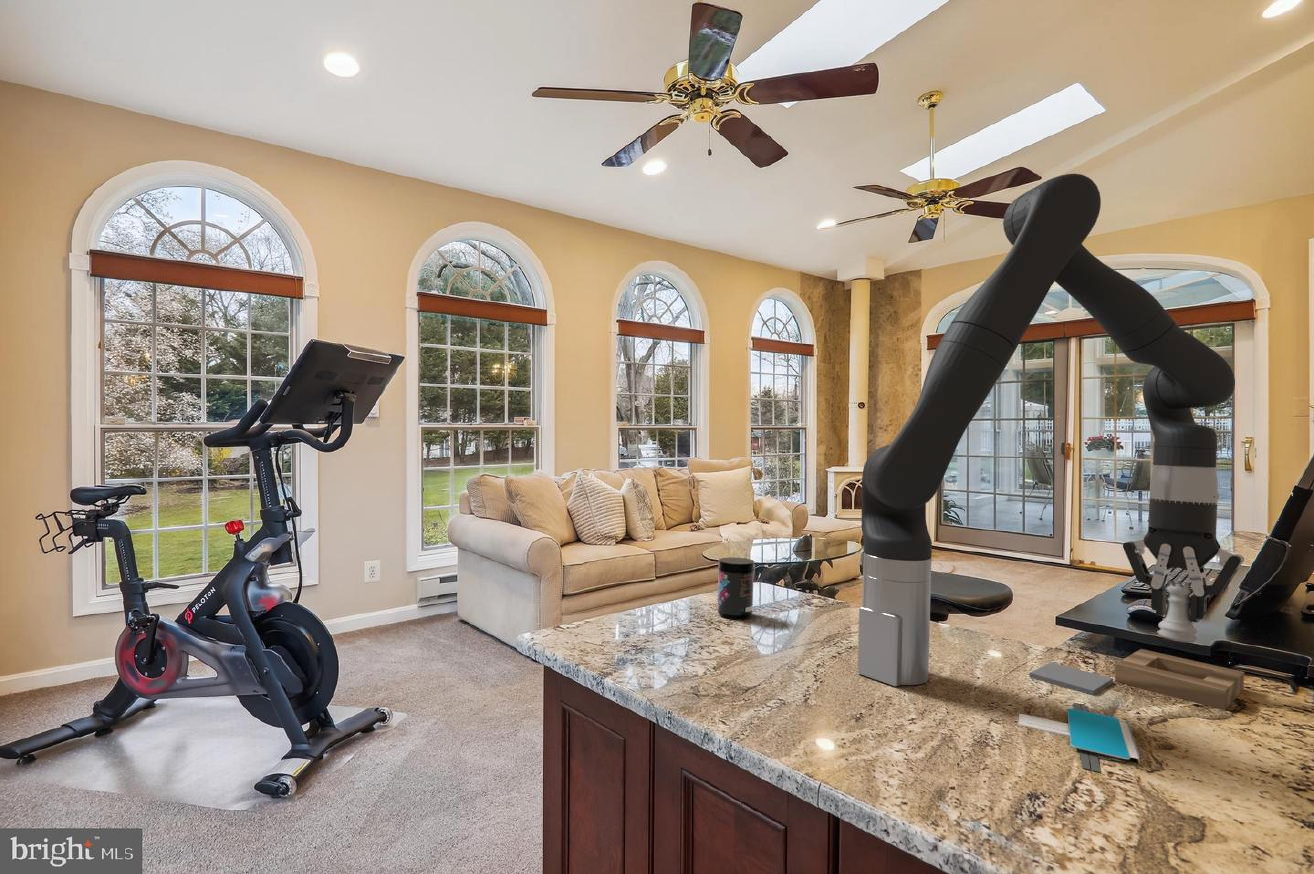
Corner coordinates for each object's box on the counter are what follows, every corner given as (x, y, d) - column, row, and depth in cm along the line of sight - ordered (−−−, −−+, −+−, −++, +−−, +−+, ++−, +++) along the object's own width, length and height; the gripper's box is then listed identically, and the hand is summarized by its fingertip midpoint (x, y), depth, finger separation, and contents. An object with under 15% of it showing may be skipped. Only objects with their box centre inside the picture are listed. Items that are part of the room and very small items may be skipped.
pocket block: (1224, 710, 82) (1225, 690, 82) (1115, 681, 92) (1115, 663, 92) (1243, 689, 90) (1244, 672, 90) (1140, 664, 99) (1141, 648, 99)
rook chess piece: (1204, 644, 88) (1207, 587, 88) (1168, 641, 89) (1170, 584, 89) (1185, 635, 93) (1187, 580, 93) (1150, 632, 94) (1152, 578, 94)
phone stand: (1021, 697, 86) (1021, 685, 86) (1130, 719, 80) (1130, 706, 80) (1016, 758, 69) (1016, 742, 69) (1154, 792, 63) (1154, 775, 63)
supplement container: (727, 608, 126) (728, 556, 126) (758, 614, 122) (760, 560, 122) (710, 615, 120) (712, 560, 120) (743, 622, 116) (744, 565, 116)
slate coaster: (1093, 695, 86) (1093, 690, 86) (1029, 676, 92) (1029, 672, 92) (1112, 682, 91) (1112, 678, 91) (1051, 666, 97) (1051, 662, 97)
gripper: (1115, 493, 94) (1110, 610, 94) (1243, 503, 83) (1238, 635, 83) (1131, 493, 99) (1127, 603, 99) (1254, 502, 88) (1249, 626, 88)
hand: (1177, 617), depth 91 cm, fingers closed on rook chess piece, 3 cm apart
